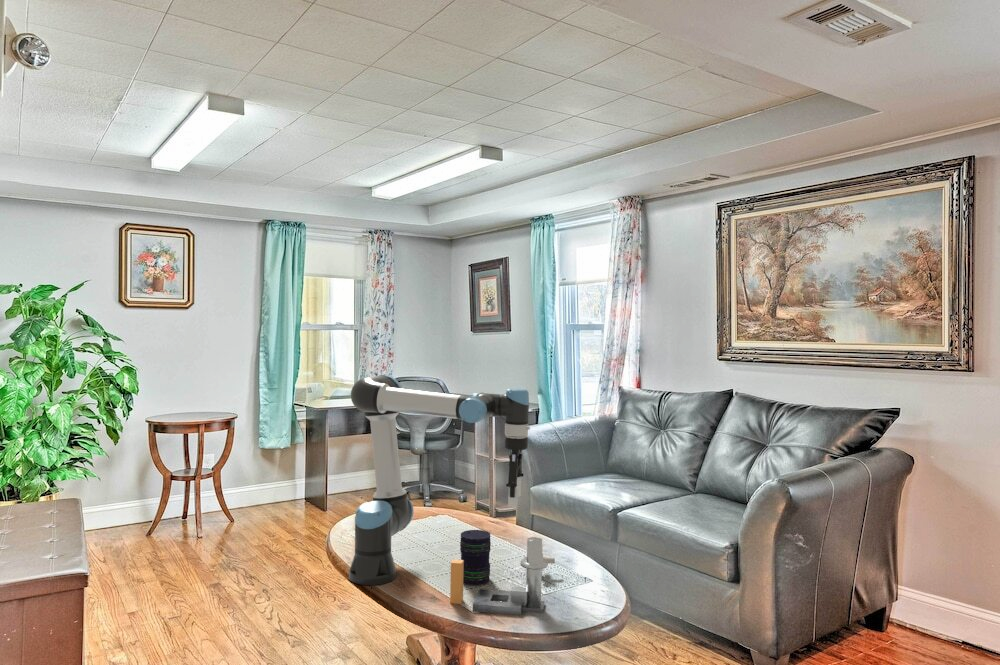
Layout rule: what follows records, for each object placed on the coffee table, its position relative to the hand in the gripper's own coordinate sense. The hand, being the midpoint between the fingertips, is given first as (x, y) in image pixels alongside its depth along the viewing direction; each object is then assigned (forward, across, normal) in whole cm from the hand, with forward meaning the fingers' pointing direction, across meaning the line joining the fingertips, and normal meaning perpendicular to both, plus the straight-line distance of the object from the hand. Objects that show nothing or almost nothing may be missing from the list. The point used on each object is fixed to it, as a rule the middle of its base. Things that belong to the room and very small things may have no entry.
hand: (514, 501), depth 227 cm
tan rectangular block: (+25, -21, +14) cm, 36 cm away
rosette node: (+25, -22, -2) cm, 33 cm away
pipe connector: (+25, +5, -8) cm, 27 cm away
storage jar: (+26, -3, +12) cm, 28 cm away
